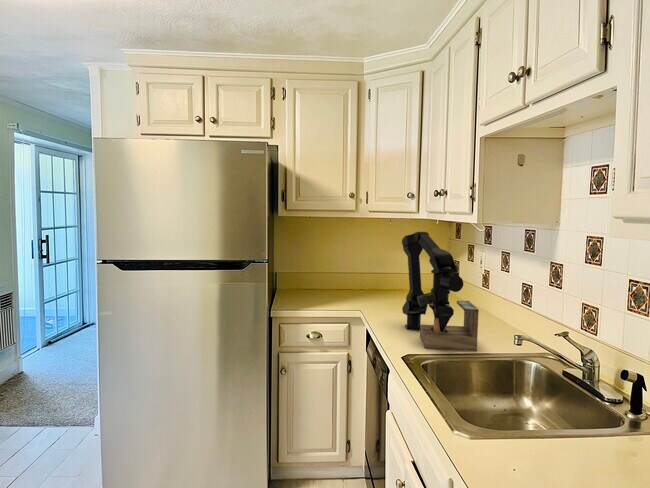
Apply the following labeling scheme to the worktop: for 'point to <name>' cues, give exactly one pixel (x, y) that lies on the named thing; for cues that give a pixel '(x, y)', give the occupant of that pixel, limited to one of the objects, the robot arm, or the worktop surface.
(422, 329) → the socket station
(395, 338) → the worktop surface
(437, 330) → the peg
